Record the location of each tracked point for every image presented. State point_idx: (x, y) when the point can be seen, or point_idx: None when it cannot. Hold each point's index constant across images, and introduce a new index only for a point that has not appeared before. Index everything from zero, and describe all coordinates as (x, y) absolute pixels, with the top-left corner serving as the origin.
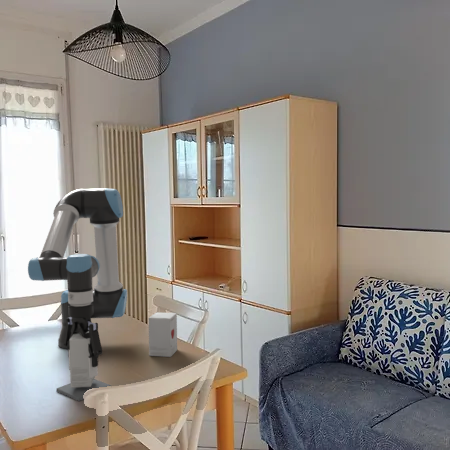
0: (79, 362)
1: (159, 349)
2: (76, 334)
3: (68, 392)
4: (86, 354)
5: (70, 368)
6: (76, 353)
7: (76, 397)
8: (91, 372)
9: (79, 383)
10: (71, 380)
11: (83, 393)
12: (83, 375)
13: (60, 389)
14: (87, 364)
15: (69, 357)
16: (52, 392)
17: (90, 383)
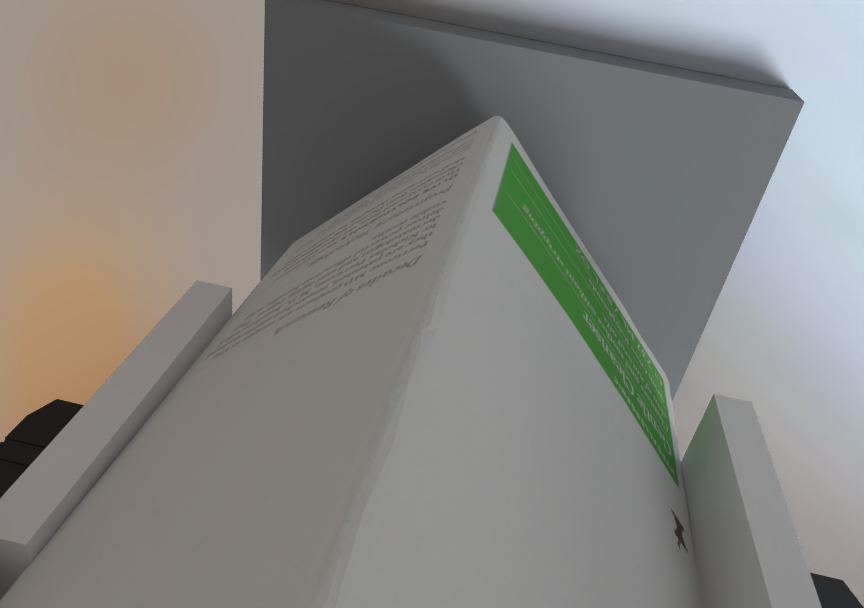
0: (247, 393)
1: None
2: None
3: (529, 73)
4: (33, 592)
5: (445, 242)
6: (174, 552)
7: (317, 6)
8: (158, 339)
9: (382, 194)
10: (469, 154)
11: (328, 133)
12: (293, 275)
13: (712, 97)
14: (160, 420)
15: (788, 579)
16: (833, 40)
17: (277, 262)
